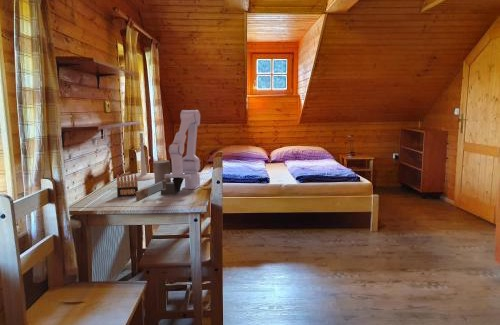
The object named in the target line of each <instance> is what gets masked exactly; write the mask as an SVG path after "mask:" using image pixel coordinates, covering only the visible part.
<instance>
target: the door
mask: <svg viewBox="0 0 500 325" xmlns="http://www.w3.org/2000/svg"><path fill="white" fill-rule="evenodd" d="M146 188H148V196H150V195H152V194H154V193H157V192H158V191H161V190H162V189H163V182H159V183H156V184H155V183H154V184H152V185H149V186H147V187H146Z"/></svg>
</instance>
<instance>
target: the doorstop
mask: <svg viewBox="0 0 500 325" xmlns="http://www.w3.org/2000/svg"><path fill="white" fill-rule="evenodd" d="M178 193H179V192H177V189H176V186H175V184H174V183H173V181H171V182H168V183H166V184H165V188H164V189H161V190H160V195H161V194H162V195H163V196H164V195H165V196H175V195H178ZM162 195H161V196H162Z"/></svg>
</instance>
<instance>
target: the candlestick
mask: <svg viewBox="0 0 500 325" xmlns="http://www.w3.org/2000/svg"><path fill="white" fill-rule="evenodd" d="M145 144H146V143H145V142H144V134H143V132H140V133H139V147H140V174H138V175H136V177H137V182H138V181H149V180H150V179H151V180H154V179H155V177H154V175H152V174H148V172H147V164H146V156H145V148H144V147H145ZM153 178H154V179H153Z"/></svg>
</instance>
